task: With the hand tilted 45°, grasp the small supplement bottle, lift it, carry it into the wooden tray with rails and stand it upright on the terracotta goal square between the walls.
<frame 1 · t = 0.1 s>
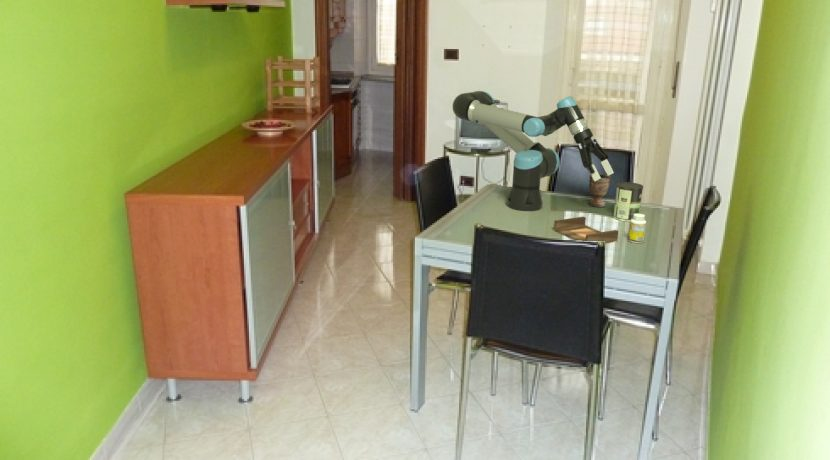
hand: (604, 177, 275), 15 cm above the table, tool tilted 35°, fingers open, 13 cm apart
coffee can: (625, 218, 273), on the table
mortar and pestle: (593, 205, 290), on the table
supplement bottle: (635, 241, 246), on the table
wooden tray with rails: (584, 235, 250), on the table
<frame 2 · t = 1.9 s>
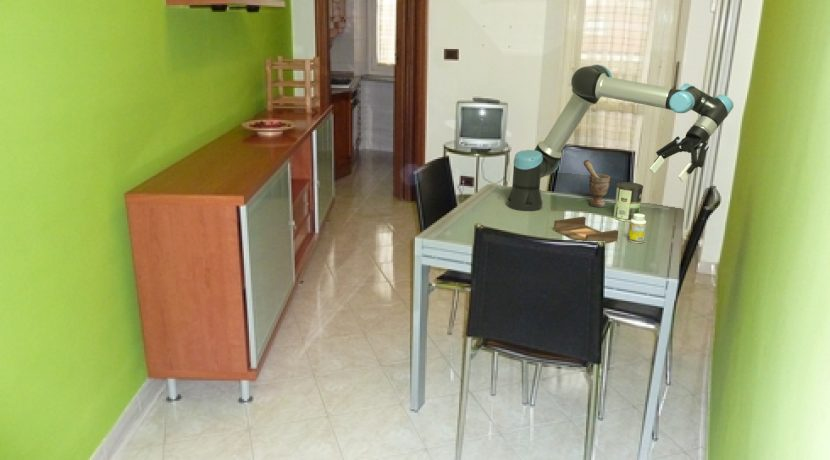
hand: (665, 175, 243), 24 cm above the table, tool tilted 45°, fingers open, 13 cm apart
nothing on the table moved.
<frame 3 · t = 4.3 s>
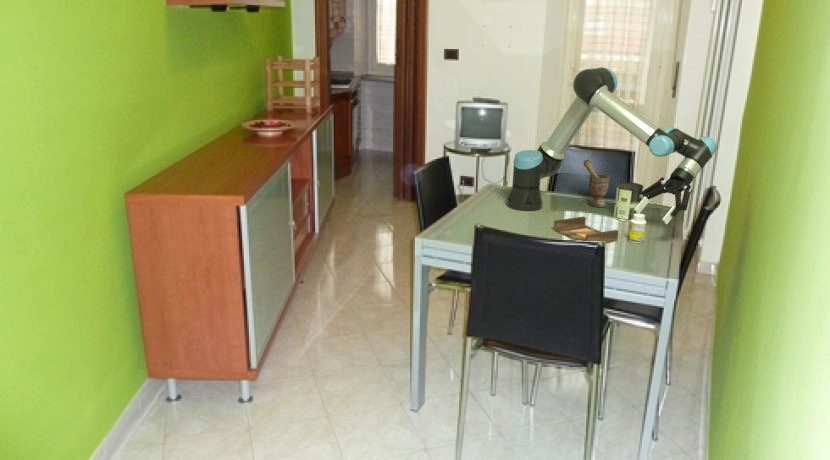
hand: (650, 216, 244), 9 cm above the table, tool tilted 45°, fingers open, 13 cm apart
nothing on the table moved.
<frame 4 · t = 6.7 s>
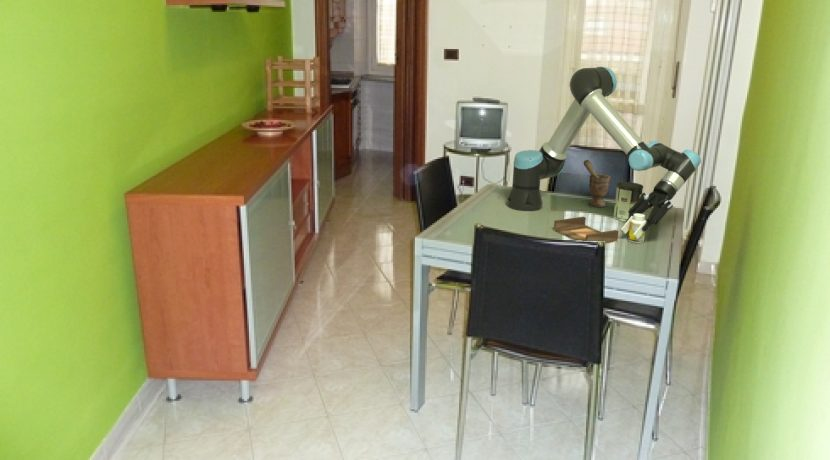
hand: (629, 233, 243), 3 cm above the table, tool tilted 45°, fingers closed on supplement bottle, 6 cm apart
supplement bottle: (635, 241, 246), on the table, touching gripper
everything else where it was.
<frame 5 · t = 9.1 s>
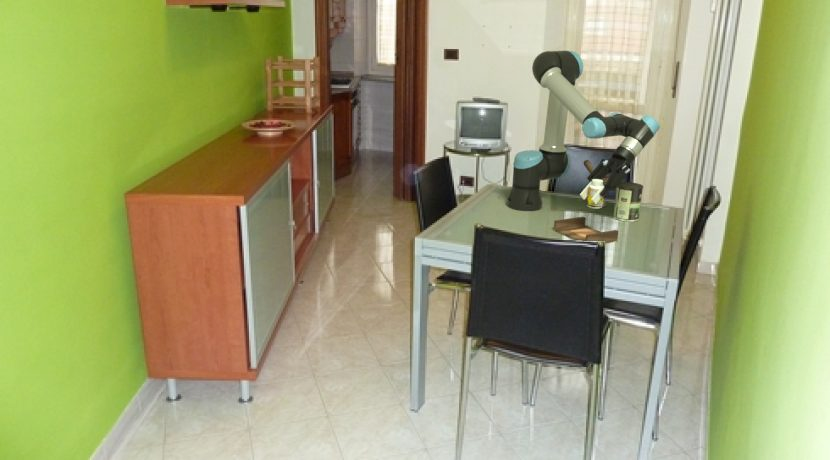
hand: (587, 199, 243), 15 cm above the table, tool tilted 45°, fingers closed on supplement bottle, 6 cm apart
supplement bottle: (594, 207, 246), point 11 cm above the table, touching gripper
everything else where it was.
when the fingers open (6 cm above the table, at t = 11.4 s): supplement bottle drops 1 cm, resting on wooden tray with rails.
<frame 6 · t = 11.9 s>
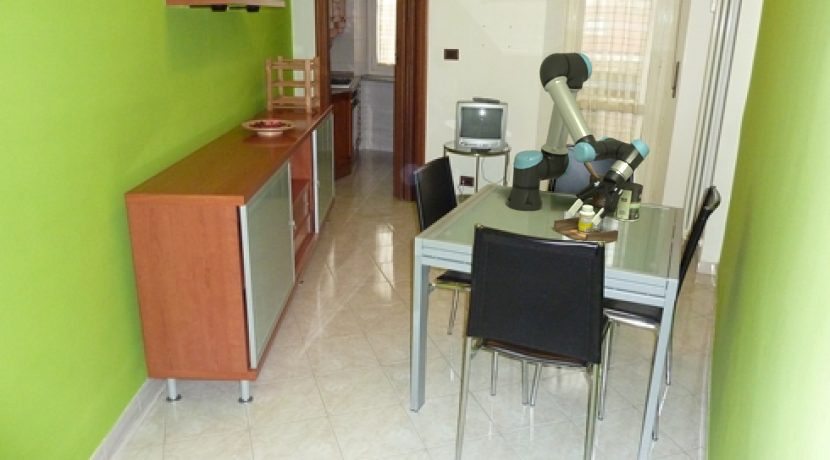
hand: (581, 218, 247), 7 cm above the table, tool tilted 45°, fingers open, 12 cm apart
supplement bottle: (584, 232, 250), point 1 cm above the table, touching wooden tray with rails
everything else where it was.
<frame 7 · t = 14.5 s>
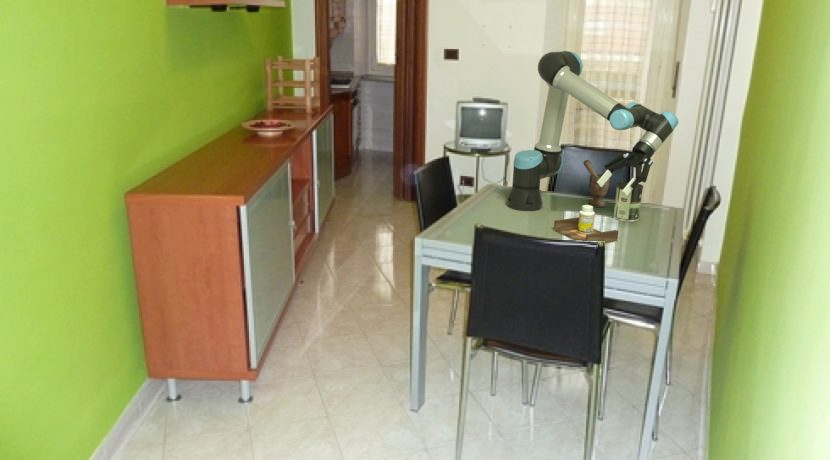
hand: (611, 189, 249), 17 cm above the table, tool tilted 45°, fingers open, 13 cm apart
nothing on the table moved.
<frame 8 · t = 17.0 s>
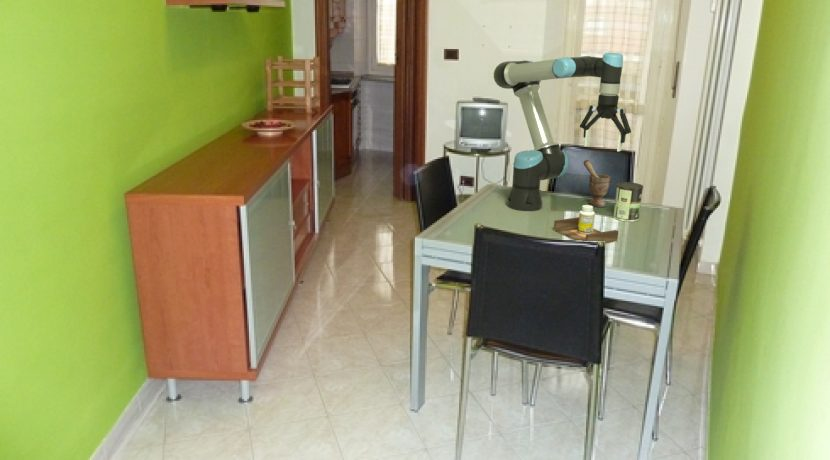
hand: (602, 148, 264), 29 cm above the table, tool pointing down, fingers open, 13 cm apart
nothing on the table moved.
at the end: supplement bottle inside the target area on the wooden tray with rails (0.1 cm from its centre), point 1.1 cm above the wooden tray with rails's base; supplement bottle tilted 0°; the gripper is holding nothing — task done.
